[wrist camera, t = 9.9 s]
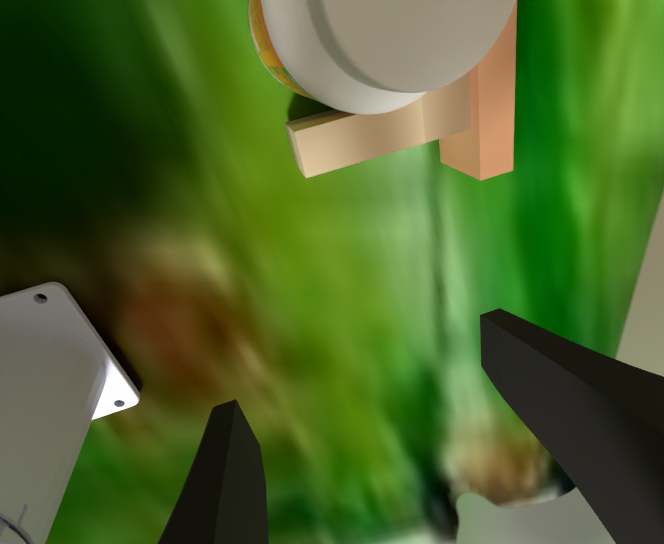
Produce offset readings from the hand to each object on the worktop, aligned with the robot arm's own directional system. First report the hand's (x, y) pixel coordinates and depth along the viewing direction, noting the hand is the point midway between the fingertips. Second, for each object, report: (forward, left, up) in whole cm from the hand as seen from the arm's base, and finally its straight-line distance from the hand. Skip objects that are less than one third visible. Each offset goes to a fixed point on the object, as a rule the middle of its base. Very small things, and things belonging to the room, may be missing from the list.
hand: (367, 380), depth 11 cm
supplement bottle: (+3, +9, -10) cm, 14 cm away
